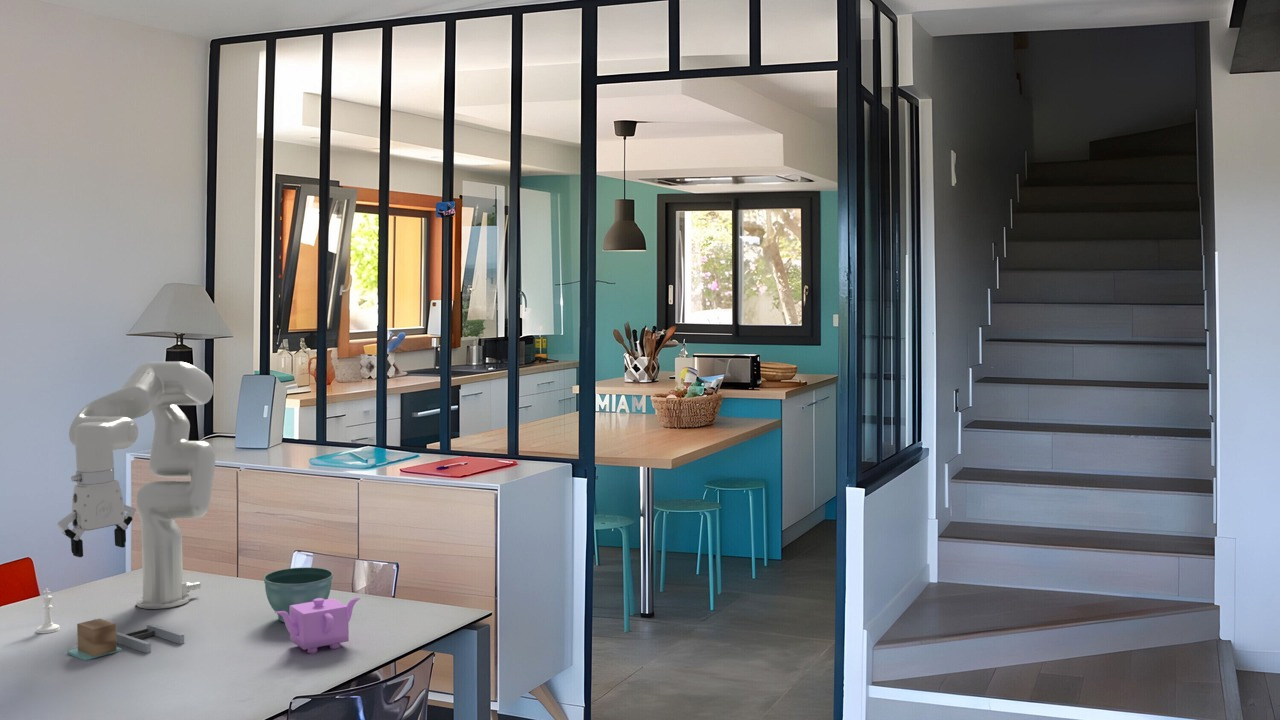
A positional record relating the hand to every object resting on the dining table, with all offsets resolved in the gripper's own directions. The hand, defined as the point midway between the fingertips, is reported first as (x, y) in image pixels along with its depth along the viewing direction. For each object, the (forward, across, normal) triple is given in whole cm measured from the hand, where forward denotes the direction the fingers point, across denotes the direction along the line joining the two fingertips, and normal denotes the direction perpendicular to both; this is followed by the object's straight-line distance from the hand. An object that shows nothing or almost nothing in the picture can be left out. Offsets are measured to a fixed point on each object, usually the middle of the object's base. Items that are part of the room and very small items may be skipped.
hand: (99, 551), depth 245 cm
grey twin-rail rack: (+21, +6, -8) cm, 24 cm away
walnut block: (+20, -5, -6) cm, 22 cm away
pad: (+21, -5, -5) cm, 22 cm away
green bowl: (+22, +38, -21) cm, 49 cm away
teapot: (+21, +27, -43) cm, 55 cm away
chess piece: (+22, -3, +20) cm, 30 cm away
